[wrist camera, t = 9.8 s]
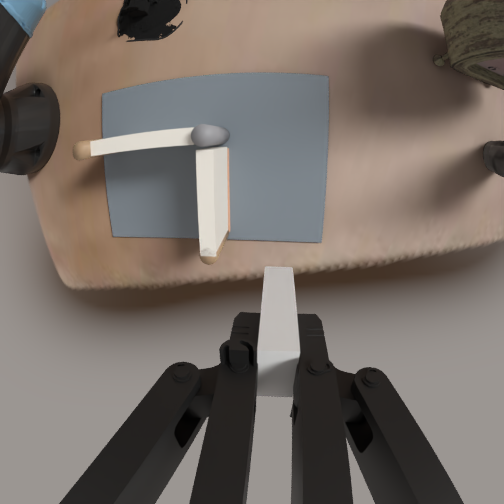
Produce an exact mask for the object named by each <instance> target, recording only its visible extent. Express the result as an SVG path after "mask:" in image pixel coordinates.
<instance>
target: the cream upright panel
mask: <svg viewBox="0 0 504 504" xmlns="http://www.w3.org/2000/svg"><path fill="white" fill-rule="evenodd" d="M196 176H197V203H198V224H199V241H200V259H201V261H202V262H203V263H205V264H208V265H211V264H214V263H215V262H216V261H217V259H218V256H219V254H220V252H221V250H222V248H223V246H224V244H225V242H226V240H227V238H228V236H229V230H228V181H227V147H211V148H205V149H199V150H196Z"/></svg>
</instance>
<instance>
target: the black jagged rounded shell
mask: <svg viewBox="0 0 504 504" xmlns="http://www.w3.org/2000/svg"><path fill="white" fill-rule="evenodd" d="M186 4H187V0H186ZM180 9H181V3H180V1H179V0H124V3H123V7H122V8H121V11H120V14H119V16H118V33H117V35H119V33H120V35H119V36H118V37H120V36H122V35H123V34H126V35H127V36H129V37H130V39H131V37H134V38H135V40H129V41H126V42H132V41H144V40H159V39H163V38H165V37H167V36H169V35H170V34H172V33H173V32H174V31H175V30H176V29H177V28H178V27H179V26H180V25H181V24H182V22H183V21H182V22H181V23H180V24H179V26H178V27H177V28H176V26H174V25H172V24H171V27H170V24H169V27H168V25H167V26H166V23H168V22H170V21H171V20H172V19H173V18H174V17H175V16H176V15H177V14H178V13H179V12H180ZM173 26H174V27H173ZM119 29H120V31H119ZM173 29H174V30H173ZM160 34H161V35H160ZM160 36H161V37H162V38H159V37H160Z"/></svg>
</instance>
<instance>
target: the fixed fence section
mask: <svg viewBox="0 0 504 504" xmlns="http://www.w3.org/2000/svg"><path fill="white" fill-rule="evenodd" d="M229 137H230V134H229V131H228V130H227V129H226V128H223V127H218V126H212V125H206V124H200V125H197V126H196V127H191V128H179V129H169V130H159V131H151V132H143V133H136V134H129V135H123V136H117V137H111V138H106V139H98V140H89V141H81V142H77V143H76V144H75V145H74V147H73V156H74V158H75V159H76V160H84V159H89V158H93V157H98V156H103V155H109V154H114V153H119V152H123V151H130V150H139V149H148V148H158V147H169V146H182V145H197V146H199V147H204V146H212V145H219V144H224V143H226V142H227V141H228V140H229Z"/></svg>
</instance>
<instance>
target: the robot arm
mask: <svg viewBox="0 0 504 504" xmlns="http://www.w3.org/2000/svg"><path fill="white" fill-rule="evenodd" d="M45 10H46V1H45V0H0V172H3V173H10V174H16V175H26V174H30V173H33V172H36V171H38V170H40V169H41V168H42V167H43V166H44V165H45V164H46V163H47V161H48V160H49V158H50V156H51V155H52V153H53V150H54V148H55V145H56V142H57V138H58V133H59V126H60V109H59V103H58V99H57V97H56V94H55V92H54V91H53V89H52V88H51V87H50V86H48V85H46V84H43V83H28V84H25V85H23V86H20V87H18V88H15V89H13V90H10V91H8V92H6V93H3V92H4V90H5V87H6V85H7V83H8V80H9V78H10V76H11V74H12V71H13V69H14V67H15V65H16V63H17V61H18V59H19V57H20V55H21V53H22V51H23V50H24V48H25V46H26V44H27V42H28V41H29V39H30V38H31V37H32V36H33V32H34V30H35V28H36V26H37V24H38V23H39V21H40V19H41V18H42V16H43V14H44V12H45ZM219 350H220V361H221V363H220V364H219V365H217V366H215V367H212V368H206V369H198V368H197V367H196V366H195V365H193V364H191V363H187V362H178V363H175V364H173V365H171V366H169V367H168V368H167V369H166V370H165V372H164V373H163V374H162V375H161V377H160V378H159V379H158V381H157V382H156V383H155V384H154V386H153V387H152V388H151V390H150V391H149V392H148V393H147V394H146V396H145V397H144V398H143V400H142V401H141V402H140V403H139V405H138V406H137V407H136V408H135V410H134V411H133V412H132V413H131V415H130V416H129V417H128V419H127V420H126V421H125V422H124V424H123V425H122V426H121V427H120V428H119V430H118V431H117V432H116V433H115V435H114V436H113V437H112V438H111V440H110V441H109V442H108V444H107V445H106V446H105V447H104V449H103V450H102V451H101V452H100V454H99V455H98V456H97V457H96V459H95V460H94V461H93V462H92V464H91V465H90V466H89V467H88V469H87V470H86V471H85V472H84V474H83V475H82V476H81V477H80V478H79V480H78V481H77V482H76V484H75V485H74V486H73V487H72V488H71V490H70V491H69V492H68V494H67V495H66V496H65V497H64V498H63V500H62V501H61V502H60V503H59V504H155V503H156V501H157V499H158V498H159V496H160V495H161V493H162V492H163V490H164V488H165V487H166V485H167V484H168V482H169V480H170V479H171V477H172V476H173V474H174V472H175V471H176V469H177V467H178V466H179V464H180V462H181V461H182V459H183V457H184V455H185V454H186V452H187V450H188V449H189V447H190V446H191V444H192V442H193V441H194V439H195V437H196V435H197V434H198V432H199V430H200V429H201V427H202V425H203V423H204V422H205V420H206V418H207V417H209V419H208V424H207V427H206V432H205V436H204V441H203V445H202V450H201V454H200V459H199V463H198V467H197V472H196V476H195V481H194V485H193V490H192V494H191V499H190V504H246V500H247V491H248V482H249V472H250V462H251V452H252V443H253V433H254V422H255V412H256V396H275V397H276V396H277V397H292V396H293V405H292V410H291V415H290V417H292V487H291V488H292V490H291V504H353V497H352V487H351V476H350V468H349V459H348V450H347V443H346V438H347V440H348V443H349V445H350V447H351V449H352V451H353V454H354V456H355V458H356V461H357V463H358V465H359V467H360V470H361V472H362V474H363V477H364V479H365V481H366V484H367V486H368V488H369V490H370V492H371V495H372V497H373V500H374V502H375V504H464V503H463V501H462V499H461V498H460V496H459V494H458V492H457V490H456V489H455V487H454V485H453V483H452V481H451V479H450V478H449V476H448V474H447V472H446V471H445V469H444V467H443V466H442V464H441V462H440V461H439V459H438V457H437V455H436V454H435V452H434V450H433V449H432V447H431V445H430V444H429V442H428V440H427V439H426V437H425V436H424V434H423V432H422V431H421V429H420V427H419V426H418V424H417V423H416V421H415V419H414V418H413V416H412V415H411V413H410V412H409V410H408V408H407V407H406V405H405V404H404V402H403V401H402V399H401V398H400V396H399V394H398V393H397V391H396V390H395V388H394V387H393V385H392V384H391V382H390V381H389V379H388V378H387V376H386V375H385V374H384V373H383V372H382V371H380V370H379V369H376V368H371V367H367V368H363V369H360V370H359V371H358V372H357V373H356V374H352V373H347V372H344V371H340V370H338V369H337V368H335V367H334V366H333V364H332V363H331V362H330V361H329V358H328V352H327V347H326V342H325V337H324V331H323V326H322V321H321V320H320V319H319V317H318V316H317V315H316V314H297V308H296V298H295V288H294V277H293V268H292V267H270V266H265V273H264V285H263V296H262V306H261V313H247V312H240V313H239V314H238V315H237V316H236V317H235V319H234V323H233V327H232V332H231V336H230V340H227V341H226V342H224V343H223V344H222V345H221V347H220V349H219Z"/></svg>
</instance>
